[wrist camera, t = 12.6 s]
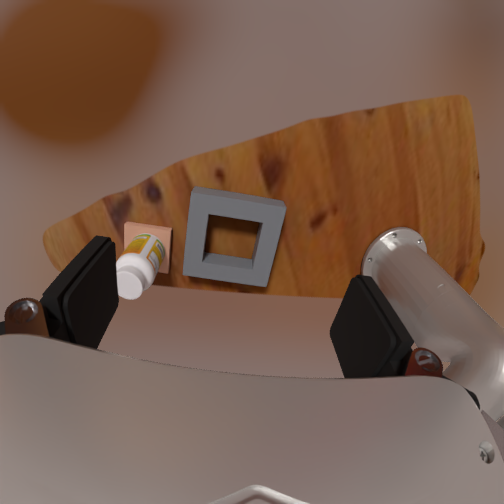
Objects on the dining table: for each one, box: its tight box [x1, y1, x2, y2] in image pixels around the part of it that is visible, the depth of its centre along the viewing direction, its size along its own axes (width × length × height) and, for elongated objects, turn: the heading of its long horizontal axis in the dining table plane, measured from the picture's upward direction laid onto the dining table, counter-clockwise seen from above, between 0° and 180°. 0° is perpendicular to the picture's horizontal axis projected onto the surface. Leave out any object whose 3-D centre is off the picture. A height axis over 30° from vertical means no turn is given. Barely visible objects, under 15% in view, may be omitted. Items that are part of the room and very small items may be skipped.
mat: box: [124, 222, 172, 274], centre depth 40 cm, size 7×7×1 cm
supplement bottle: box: [116, 233, 165, 299], centre depth 35 cm, size 5×5×10 cm
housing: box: [183, 186, 286, 287], centre depth 39 cm, size 12×12×3 cm
